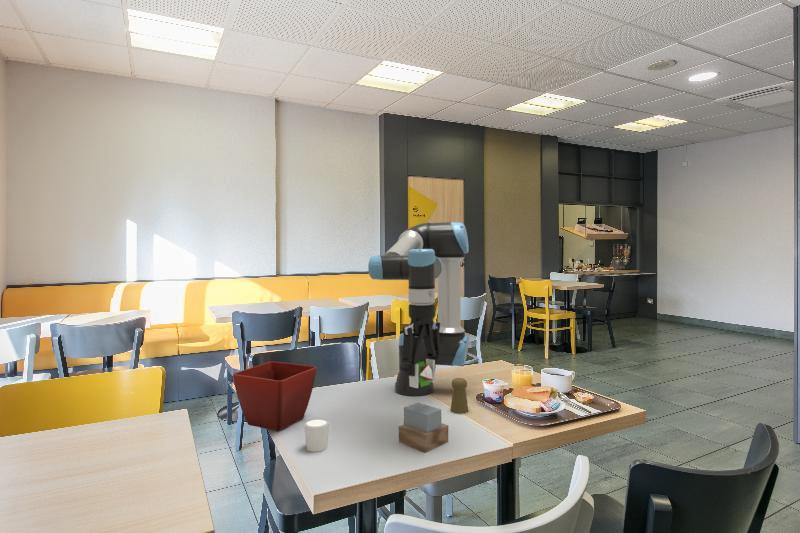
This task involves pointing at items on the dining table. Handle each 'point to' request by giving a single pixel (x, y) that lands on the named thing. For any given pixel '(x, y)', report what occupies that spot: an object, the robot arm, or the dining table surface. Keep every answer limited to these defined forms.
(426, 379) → the geometric puzzle
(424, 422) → the tower top block
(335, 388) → the dining table surface
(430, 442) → the tower base block
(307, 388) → the plant pot
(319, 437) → the white cup
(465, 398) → the cork
